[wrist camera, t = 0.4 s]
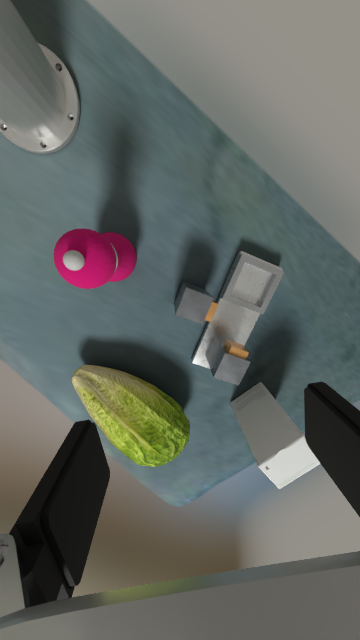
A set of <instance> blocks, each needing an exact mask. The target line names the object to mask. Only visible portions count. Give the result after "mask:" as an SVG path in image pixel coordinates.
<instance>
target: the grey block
mask: <svg viewBox="0 0 360 640" xmlns="http://www.w3.org/2000/svg"><path fill="white" fill-rule="evenodd" d="M213 299H214V297H213V296H211V295H210V294H209V293H208V292H207V291H206V290H205V289H202V288H200V287H197V286H195V285H192V284H189V283H187V282H184V281H183V282H182V284H181V287H180V289H179V292H178V295H177V297H176V300H175V302H174V307H175V315H177V316H180V317H183V318H186V319H188V320H191V321H194V322H197V323H199V324H202V325H203V322H204V320H206V321H209V322H211V321H212V319H213V316H214V314H215V312H216V309H217V307H218V305H219V304H218V303H217V302H216V301H215V300H213Z"/></svg>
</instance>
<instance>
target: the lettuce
mask: <svg viewBox="0 0 360 640" xmlns="http://www.w3.org/2000/svg"><path fill="white" fill-rule="evenodd" d="M71 380H72V383H73V385H74V388H75V390H76V392H77V394H78V395H79V397H80V399H81V401H82V402H83V404H84V406H85V407H86V409H87V411H88V412H89V414H90V416H91V417H92V418H93V420H94V421H95V422H96V423H97V425H98V426H99V427H100V428H101V430H102V431H103V432H104V434H105V435H106V436H107V438H108V439H109V440H110V442H111V443H112V444H113V445H114V446H115V447H116V448H118V449H119V450H120V451H121V452H122V453H123V454H124V455H126V456H127V457H128V458H129V459H130V460H132V461H134V462H135V463H137V464H139V465H140V466H153V467H157V466H161V465H164V464H166V463H167V462H169V461H171V460H173V459H175V458H176V457H177V456H178V455H179V454H180V452H181V451H182V450H183V448H184V447H185V446H186V444H187V443H188V441H189V435H190V424H189V420H188V418H187V417H186V415H185V413H184V411H183V410H182V408H181V406H180V405H179V404H178V403H177V402H176V401H175V400H174V399H172V398H171V397H170V396H168V395H167V394H165V393H164V392H162V391H161V390H159V389H158V388H157V387H156V386H154V385H152V384H150V383H148V382H146V381H144V380H142V379H140V378H137V377H135V376H133V375H130V374H128V373H126V372H122V371H119V370H115V369H111V368H106V367H101V366H95V365H83V366H82V367H80V368H79V369H77V370H76V371H75V372H74V375H73V377H72V379H71Z"/></svg>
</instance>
